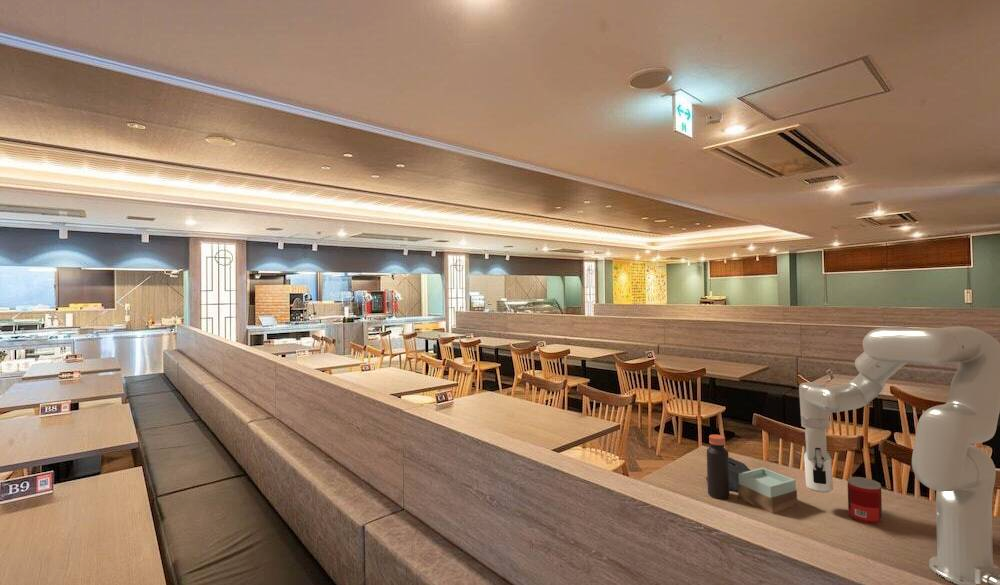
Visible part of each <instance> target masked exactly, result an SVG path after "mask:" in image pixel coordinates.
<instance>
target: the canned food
mask: <svg viewBox="0 0 1000 585" xmlns="http://www.w3.org/2000/svg"><path fill="white" fill-rule="evenodd" d="M882 501H883V500H882V484H881V483H880V482H878V481H876V480H875V479H871V478H867V477H863V476H862V477H861V476H851V477H848V478H847V508H848V514H849V516H850V517H851V518H852V519H854V520H856V521H859V522H861V523H864V524H872V525H876V524H880V523H881V522H882V520H883V507H882V504H883V503H882Z"/></svg>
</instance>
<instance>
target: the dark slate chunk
mask: <svg viewBox="0 0 1000 585" xmlns="http://www.w3.org/2000/svg"><path fill="white" fill-rule="evenodd" d="M751 470H752V469H750V468H749V467H748V466H747V465H746V464H745V463H743V462H742V461H739V460H736V459H734V458H733V457H729V490H730V491H733V492H734V493H738V484H739V473H743V472H747V471H751ZM705 480H706V482H707V483H708V480H707V476H706V477H705Z"/></svg>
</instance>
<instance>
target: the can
mask: <svg viewBox="0 0 1000 585" xmlns="http://www.w3.org/2000/svg"><path fill="white" fill-rule="evenodd" d="M815 453H816V450H815ZM826 453H827V454H826V462H824V468H825V471H826V484H820V483H814V480H813V469H814V465H813V460H808V458H807V452H806V451H805V453H804V454H803V460H804V476H805V486H806V487H807V488H808V489H809V490H810V491H813V492H816V493H823V494H824V493H825V494H826V493H830V492H832V491H833V490H834V486H833V485H834V484H833V483H834V482H833V469H832V468H833V467H832V458H831V455H829V452H828V451H827V450H826ZM814 459H815V460H817V458H816V457H814ZM815 463H817V462H815Z"/></svg>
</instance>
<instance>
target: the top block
mask: <svg viewBox="0 0 1000 585" xmlns="http://www.w3.org/2000/svg"><path fill="white" fill-rule="evenodd" d="M750 470H751V471H747V472H743V473H739V484H740V485H742V486H745V487H747V488H749V489H751V490H754V491H756V492H758V493H761V494H763V495H765V496H767V497H770V498H773V497H776V496H779V495H783V494H786V493H789V492H793V491H796V490H797V489H796V488H797V487H796V485H797V483H796V481H797V480H796V479H794V478H791V477H789V476H787V475H783V474H781V473H778V472H776V471H773V470H770V469H769V468H766V467H758V468H754V469H750Z"/></svg>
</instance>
